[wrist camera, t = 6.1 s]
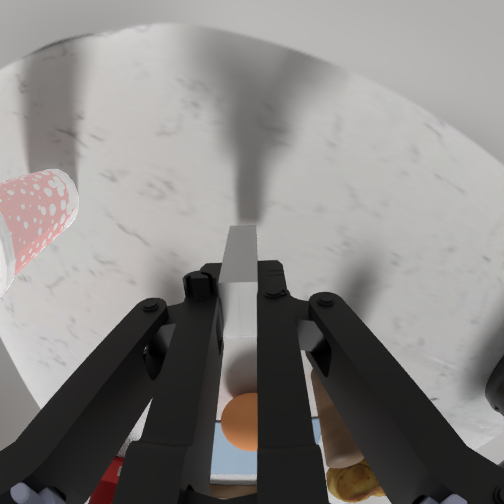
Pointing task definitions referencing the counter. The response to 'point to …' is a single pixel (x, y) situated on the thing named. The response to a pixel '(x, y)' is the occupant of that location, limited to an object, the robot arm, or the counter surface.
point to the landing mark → (239, 454)
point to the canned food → (107, 483)
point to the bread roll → (353, 482)
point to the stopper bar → (231, 490)
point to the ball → (241, 422)
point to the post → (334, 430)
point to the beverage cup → (32, 217)
